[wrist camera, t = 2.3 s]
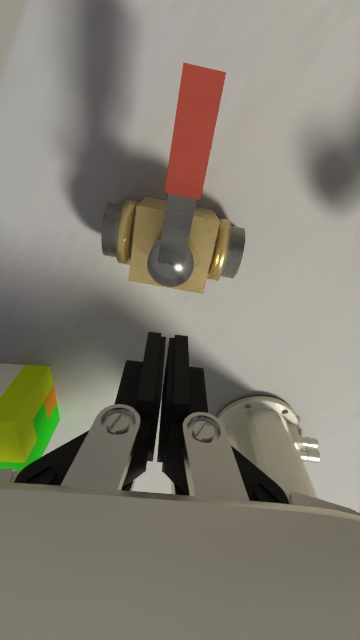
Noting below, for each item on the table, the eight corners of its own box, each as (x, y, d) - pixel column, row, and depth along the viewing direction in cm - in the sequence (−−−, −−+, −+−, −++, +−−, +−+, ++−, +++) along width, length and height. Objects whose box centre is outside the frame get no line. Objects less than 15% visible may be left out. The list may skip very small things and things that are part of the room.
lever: (229, 84, 20) (235, 74, 17) (188, 280, 26) (188, 291, 24) (175, 72, 19) (174, 60, 17) (147, 273, 26) (144, 283, 23)
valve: (240, 215, 31) (258, 231, 24) (225, 274, 34) (236, 304, 27) (116, 190, 30) (95, 199, 23) (111, 253, 33) (91, 279, 26)
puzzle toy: (-24, 361, 41) (-82, 417, 32) (50, 365, 41) (13, 421, 32) (-7, 415, 45) (-53, 477, 36) (59, 418, 45) (30, 480, 37)
